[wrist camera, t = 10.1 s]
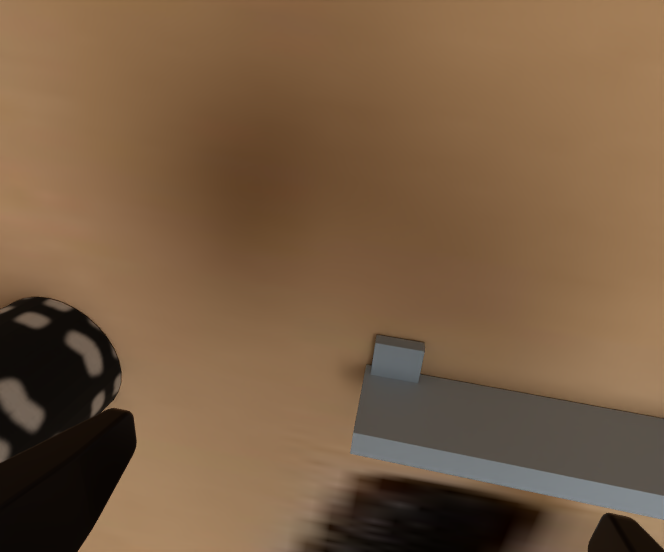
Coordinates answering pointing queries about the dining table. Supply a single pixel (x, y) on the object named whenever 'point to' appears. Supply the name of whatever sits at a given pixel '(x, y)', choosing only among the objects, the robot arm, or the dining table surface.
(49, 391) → the spotted tube
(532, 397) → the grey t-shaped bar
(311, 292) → the dining table surface
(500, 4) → the dining table surface
